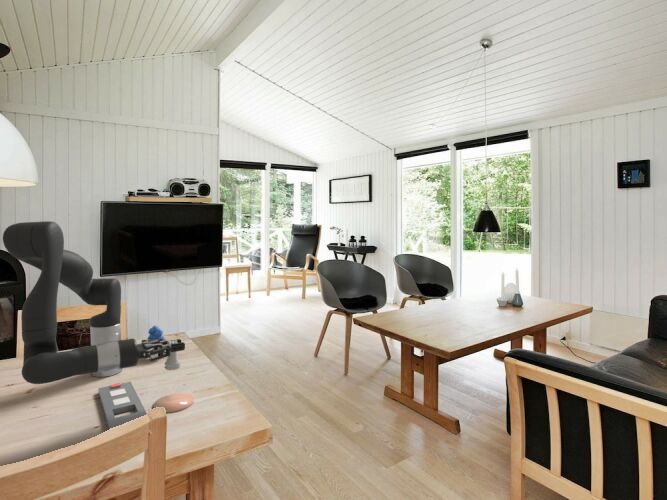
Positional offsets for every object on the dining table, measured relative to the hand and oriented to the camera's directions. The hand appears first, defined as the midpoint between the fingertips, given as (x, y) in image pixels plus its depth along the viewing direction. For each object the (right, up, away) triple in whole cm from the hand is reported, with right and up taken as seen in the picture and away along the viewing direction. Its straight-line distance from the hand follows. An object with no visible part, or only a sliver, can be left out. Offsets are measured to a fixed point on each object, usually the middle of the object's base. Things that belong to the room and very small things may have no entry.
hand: (182, 344), depth 117 cm
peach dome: (-2, -17, 0) cm, 17 cm away
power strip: (-16, -17, -3) cm, 24 cm away
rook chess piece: (-2, -7, -1) cm, 7 cm away
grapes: (-26, -14, +39) cm, 49 cm away
